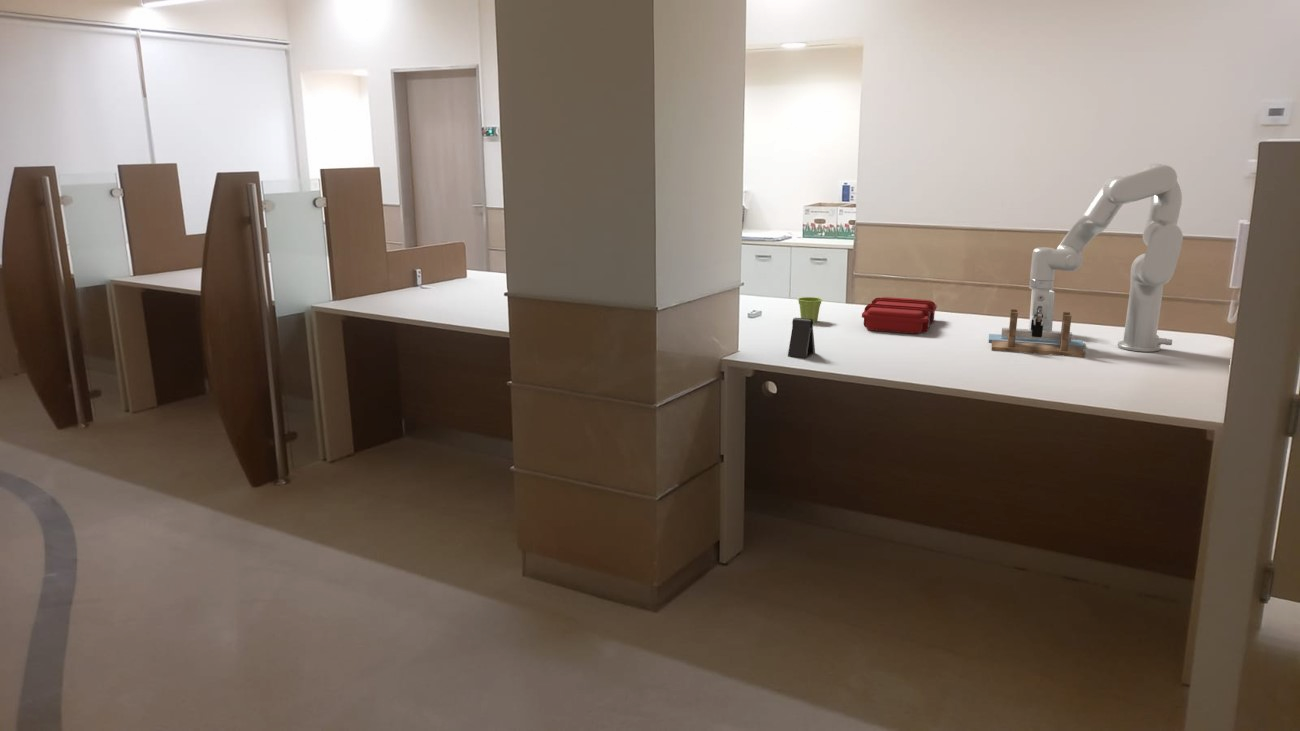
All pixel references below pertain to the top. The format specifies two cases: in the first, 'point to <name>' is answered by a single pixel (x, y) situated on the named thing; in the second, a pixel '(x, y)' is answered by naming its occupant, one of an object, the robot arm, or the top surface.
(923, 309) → the first aid kit
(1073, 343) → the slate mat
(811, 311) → the plant pot
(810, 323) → the phone stand
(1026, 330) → the aluminium rail
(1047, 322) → the skincare box
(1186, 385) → the top surface
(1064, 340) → the cradle stand
